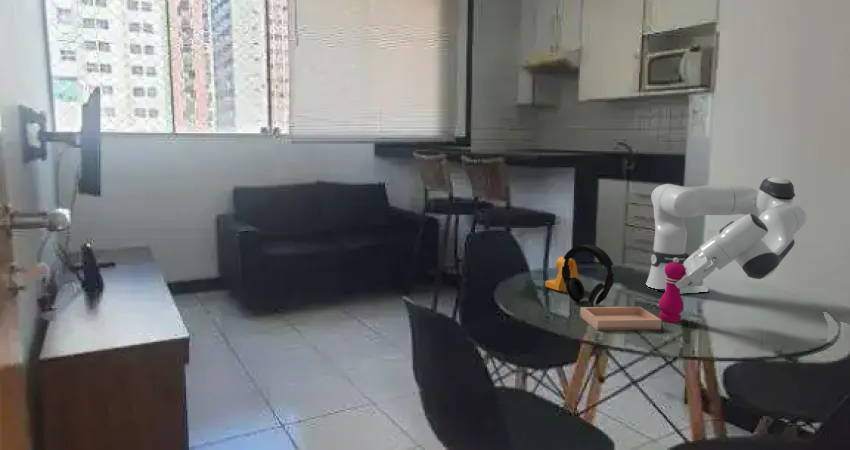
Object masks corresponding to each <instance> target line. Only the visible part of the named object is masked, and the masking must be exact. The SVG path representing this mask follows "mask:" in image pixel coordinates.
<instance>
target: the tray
mask: <svg viewBox="0 0 850 450" xmlns="http://www.w3.org/2000/svg"><path fill="white" fill-rule="evenodd" d="M579 317H580V318H581V319H583V320H584V321H585V322H586V323H587V324H588V325H590V326H592V328H593V329H595V330H596V331H649V330H650V331H651V330H653V331H656V330H657V331H658V330H662V322H663V320H661V319H660V318H659V317H658V316H656V315H655V314H654V313H652V312H650V311H649V310H646V309H645V308H644V307H642V306H595V307H593V306H589V307H588V306H581V307H580V310H579Z"/></svg>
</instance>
